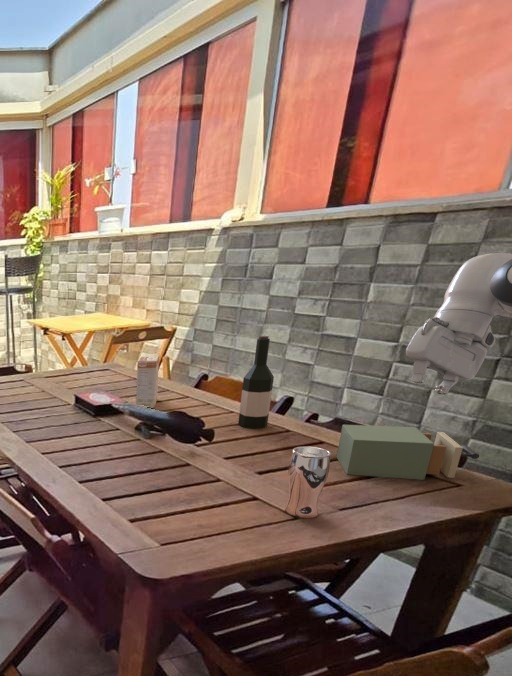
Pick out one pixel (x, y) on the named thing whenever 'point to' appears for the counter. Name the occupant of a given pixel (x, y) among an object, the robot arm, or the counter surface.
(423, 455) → the cabinet
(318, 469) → the beer glass
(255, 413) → the wine bottle
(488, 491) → the counter surface
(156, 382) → the coffeecake box
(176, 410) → the counter surface
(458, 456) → the drawer
